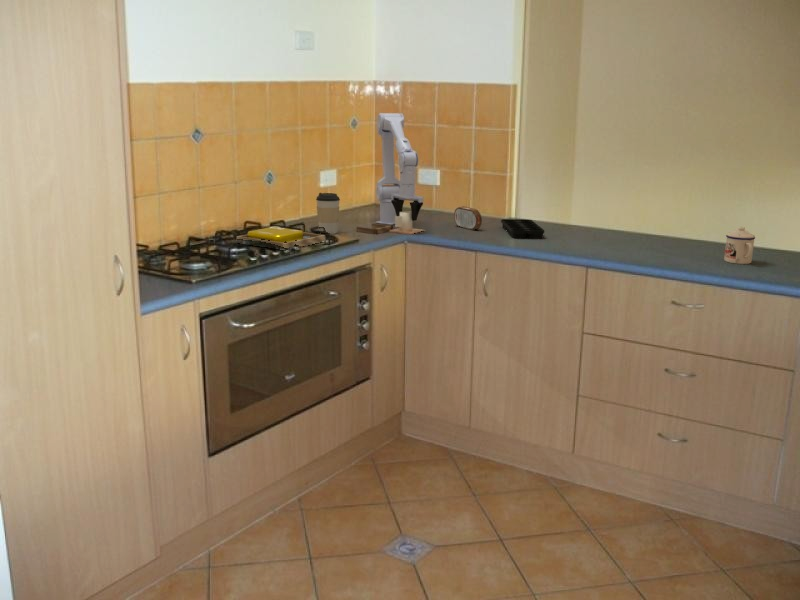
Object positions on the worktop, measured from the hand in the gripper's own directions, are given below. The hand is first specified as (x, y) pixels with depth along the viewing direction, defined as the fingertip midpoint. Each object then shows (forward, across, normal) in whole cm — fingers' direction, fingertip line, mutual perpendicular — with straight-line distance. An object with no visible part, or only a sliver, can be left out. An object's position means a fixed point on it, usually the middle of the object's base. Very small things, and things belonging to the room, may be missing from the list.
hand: (406, 219), depth 333 cm
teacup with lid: (+5, -115, -36) cm, 121 cm away
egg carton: (+6, -32, -32) cm, 46 cm away
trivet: (+5, 0, 0) cm, 5 cm away
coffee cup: (+5, +19, +24) cm, 31 cm away
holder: (+5, +10, +8) cm, 14 cm away
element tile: (+5, +17, +52) cm, 55 cm away
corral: (+5, +14, +51) cm, 54 cm away
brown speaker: (+5, -11, -25) cm, 27 cm away
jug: (+4, 0, +2) cm, 5 cm away
